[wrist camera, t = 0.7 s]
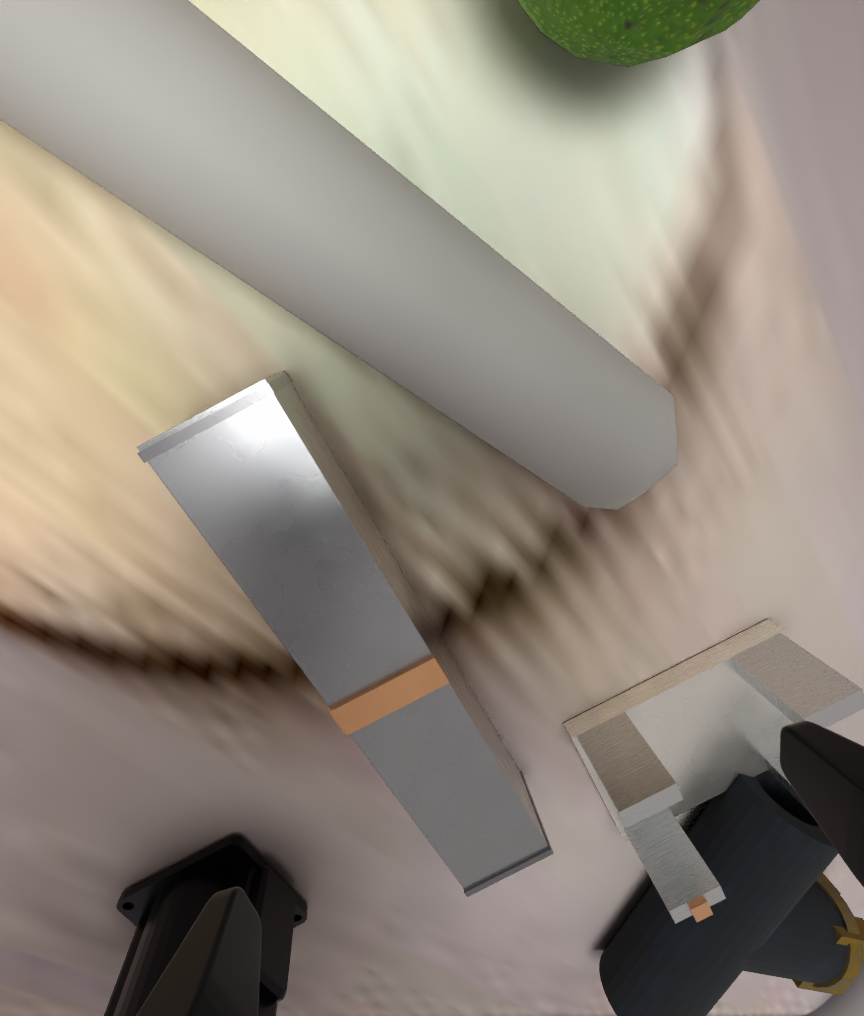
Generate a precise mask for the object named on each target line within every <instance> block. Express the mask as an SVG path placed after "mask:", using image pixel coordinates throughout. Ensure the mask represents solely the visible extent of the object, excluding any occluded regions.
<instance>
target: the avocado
mask: <svg viewBox="0 0 864 1016" xmlns="http://www.w3.org/2000/svg"><path fill="white" fill-rule="evenodd" d="M518 1H519V3H520V5H521V6H522V8H523V9H524V10H525V12H526V13H527V14H528V16H529V17H530V18H531V20H532V21H533V22H534V24H535V25H536V26H537V28H538V29H539V30H540V32H541V33H543V34H544V35H546V36H547V37H549V38H550V39H551V40H553V41H554V42H556V43H557V44H558V45H560V46H561V47H563V48H564V49H566V50H567V51H568V52H570V53H571V54H573V55H574V56H576V57H579V58H582V59H587V60H593V61H598V62H604V63H610V64H615V65H621V66H627V67H629V66H633V65H637V64H641V63H644V62H648V61H652V60H656V59H660V58H663V57H667V56H669V55H672V54H674V53H676V52H678V51H680V50H683V49H685V48H687V47H689V46H692V45H694V44H696V43H698V42H700V41H703V40H705V39H707V38H709V37H712V36H714V35H716V34H718V33H720V32H723V31H725V30H726V29H728V28H729V27H730V26H732V25H733V24H734V23H736V22H737V21H738V20H740V19H741V18H742V17H743V16H744V15H745V14H746V13H747V12H748V11H750V10H751V9H752V8H753V7H754V6H755V5H756V4H757V3H758V2H759V1H760V0H518Z"/></svg>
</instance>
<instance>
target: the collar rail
mask: <svg viewBox="0 0 864 1016" xmlns="http://www.w3.org/2000/svg"><path fill="white" fill-rule="evenodd" d="M862 709H864V695H863V690H862V689H861V688H860V687H858V686H857V685H856V684H854V683H853V682H851V681H850V680H848V679H847V678H845V677H844V676H842V675H841V674H840V673H838V672H837V671H835V670H834V669H832V668H831V667H829V666H828V665H826V664H825V663H824V662H822V661H821V660H819V659H818V658H816V657H815V656H813V655H812V654H811V653H809V652H808V651H806V650H805V649H803V648H802V647H800V646H799V645H797V644H796V643H795V642H793V641H792V640H790V639H789V638H787V636H786V632H785V630H784V629H783V628H781V627H780V626H778V625H777V624H775V623H774V622H772V621H771V620H769V619H766V620H765V621H763V622H761V623H759V624H757V625H755V626H753V627H751V628H749V629H747V630H745V631H743V632H741V633H739V634H737V635H735V636H733V637H731V638H729V639H727V640H725V641H723V642H721V643H719V644H718V645H716V646H714V647H712V648H710V649H708V650H706V651H704V652H702V653H700V654H698V655H696V656H694V657H692V658H690V659H688V660H686V661H684V662H682V663H680V664H678V665H676V666H674V667H672V668H671V669H669V670H667V671H665V672H663V673H661V674H659V675H657V676H655V677H653V678H651V679H649V680H647V681H645V682H643V683H641V684H639V685H637V686H635V687H633V688H631V689H629V690H627V691H626V692H624V693H622V694H620V695H618V696H616V697H614V698H612V699H610V700H608V701H606V702H604V703H602V704H600V705H598V706H596V707H594V708H592V709H590V710H588V711H586V712H584V713H582V714H580V715H579V716H577V717H575V718H573V719H571V720H569V721H567V722H565V723H564V725H565V727H566V729H567V731H568V733H569V735H570V737H571V739H572V741H573V743H574V745H575V747H576V749H577V750H578V752H579V754H580V756H581V758H582V760H583V762H584V764H585V766H586V768H587V770H588V772H589V774H590V776H591V778H592V779H593V781H594V783H595V785H596V787H597V789H598V791H599V793H600V795H601V797H602V799H603V801H604V803H605V805H606V807H607V808H608V810H609V812H610V814H611V816H612V818H613V820H614V822H615V824H616V826H617V828H618V830H619V831H620V833H621V835H622V837H623V839H624V841H625V842H626V841H628V840H630V842H631V844H632V845H633V847H634V849H635V851H636V853H637V854H638V856H639V858H640V860H641V862H642V864H643V865H644V867H645V869H646V871H647V873H648V875H649V876H650V878H651V880H652V882H653V884H654V886H655V887H656V889H657V891H658V893H659V895H660V896H661V898H662V900H663V902H664V904H665V906H666V907H667V909H668V911H669V913H670V915H671V917H672V918H673V920H674V922H675V924H676V923H678V922H680V921H682V920H684V919H686V918H688V917H690V916H692V915H693V917H694V919H695V920H696V922H699V921H701V920H703V919H705V918H707V917H709V916H711V915H713V913H712V911H711V908H710V906H712V905H714V904H716V903H718V902H720V901H722V900H724V899H726V898H725V895H724V893H723V891H722V888H721V886H720V884H719V883H718V881H717V880H716V878H715V877H714V875H713V874H712V872H711V871H710V869H709V868H708V866H707V865H706V863H705V862H704V860H703V859H702V857H701V856H700V854H699V853H698V851H697V850H696V848H695V847H694V845H693V844H692V842H691V841H690V839H689V838H688V836H687V835H686V833H685V832H684V830H683V829H682V827H681V826H680V825H679V823H678V822H677V820H676V819H675V816H677V815H679V814H681V813H683V812H685V811H687V810H689V809H691V808H693V807H695V806H697V805H699V804H701V803H703V802H705V801H707V800H709V799H711V798H713V797H715V796H717V795H719V794H721V793H723V792H725V791H727V790H728V789H729V788H730V786H731V785H732V784H733V782H734V781H735V779H736V778H737V777H738V775H739V774H744V775H747V776H751V777H755V776H757V775H759V774H761V773H763V772H765V771H767V770H769V771H770V773H771V774H772V775H773V776H774V777H775V778H776V779H777V780H778V781H779V782H780V783H781V784H782V785H783V786H784V787H785V788H786V789H787V790H788V791H789V792H790V793H791V794H792V795H793V797H794V798H795V799H796V800H797V801H798V802H799V803H800V804H801V805H802V806H803V807H804V808H805V809H806V810H807V811H808V812H809V813H810V811H809V810H808V808H807V807H806V806H805V804H804V803H803V801H802V800H801V798H800V797H799V796H798V794H797V793H796V791H795V790H794V788H793V787H792V785H791V784H790V783H789V781H788V780H787V778H786V777H785V775H784V773H783V771H782V768H781V765H780V732H781V729H782V728H783V727H784V726H786V725H789V724H793V723H796V722H800V721H810V722H813V723H816V724H818V725H820V726H822V727H824V728H826V727H828V726H830V725H832V724H834V723H836V722H838V721H840V720H842V719H844V718H846V717H848V716H850V715H852V714H854V713H856V712H858V711H860V710H862ZM810 814H811V813H810ZM811 815H812V814H811Z"/></svg>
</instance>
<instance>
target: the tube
mask: <svg viewBox="0 0 864 1016" xmlns="http://www.w3.org/2000/svg"><path fill="white" fill-rule="evenodd" d="M0 120H2V121H3V122H5V123H6V124H8V125H9V126H11V127H12V128H14V129H15V130H17V131H18V132H20V133H21V134H23V135H24V136H26V137H27V138H29V139H30V140H32V141H33V142H35V143H36V144H38V145H39V146H41V147H42V148H44V149H45V150H47V151H48V152H50V153H51V154H53V155H54V156H56V157H57V158H59V159H60V160H62V161H63V162H65V163H66V164H68V165H69V166H71V167H72V168H74V169H75V170H77V171H78V172H80V173H81V174H83V175H84V176H86V177H87V178H89V179H90V180H92V181H93V182H95V183H96V184H98V185H99V186H101V187H102V188H104V189H105V190H107V191H108V192H110V193H112V194H113V195H115V196H116V197H118V198H119V199H121V200H122V201H124V202H125V203H127V204H128V205H130V206H131V207H133V208H134V209H136V210H137V211H139V212H140V213H142V214H143V215H145V216H146V217H148V218H149V219H151V220H152V221H154V222H155V223H157V224H158V225H160V226H161V227H163V228H164V229H166V230H167V231H169V232H170V233H172V234H173V235H175V236H176V237H178V238H179V239H181V240H182V241H184V242H185V243H187V244H188V245H190V246H191V247H193V248H194V249H196V250H197V251H199V252H200V253H202V254H203V255H205V256H206V257H208V258H209V259H211V260H212V261H214V262H215V263H217V264H218V265H220V266H221V267H223V268H224V269H226V270H227V271H229V272H230V273H232V274H233V275H235V276H236V277H238V278H240V279H241V280H243V281H244V282H246V283H247V284H249V285H250V286H252V287H253V288H255V289H256V290H258V291H259V292H261V293H262V294H264V295H265V296H267V297H268V298H270V299H271V300H273V301H274V302H276V303H277V304H279V305H280V306H282V307H283V308H285V309H286V310H288V311H289V312H291V313H292V314H294V315H295V316H297V317H298V318H300V319H301V320H303V321H304V322H306V323H307V324H309V325H310V326H312V327H313V328H315V329H316V330H318V331H319V332H321V333H322V334H324V335H325V336H327V337H328V338H330V339H331V340H333V341H334V342H336V343H337V344H339V345H340V346H342V347H343V348H345V349H346V350H348V351H349V352H351V353H352V354H354V355H355V356H357V357H358V358H360V359H361V360H363V361H364V362H366V363H368V364H369V365H371V366H372V367H374V368H375V369H377V370H378V371H380V372H381V373H383V374H384V375H386V376H387V377H389V378H390V379H392V380H393V381H395V382H396V383H398V384H399V385H401V386H402V387H404V388H405V389H407V390H408V391H410V392H411V393H413V394H414V395H416V396H417V397H419V398H420V399H422V400H423V401H425V402H426V403H428V404H429V405H431V406H432V407H434V408H435V409H437V410H438V411H440V412H441V413H443V414H444V415H446V416H447V417H449V418H450V419H452V420H453V421H455V422H456V423H458V424H459V425H461V426H462V427H464V428H465V429H467V430H468V431H470V432H471V433H473V434H474V435H476V436H477V437H479V438H480V439H482V440H483V441H485V442H486V443H488V444H489V445H491V446H492V447H494V448H496V449H497V450H499V451H500V452H502V453H503V454H505V455H506V456H508V457H509V458H511V459H512V460H514V461H515V462H517V463H518V464H520V465H521V466H523V467H524V468H526V469H527V470H529V471H530V472H532V473H533V474H535V475H536V476H538V477H539V478H541V479H542V480H544V481H545V482H547V483H548V484H550V485H551V486H553V487H554V488H556V489H557V490H559V491H560V492H562V493H563V494H565V495H566V496H568V497H569V498H571V499H572V500H574V501H575V502H577V503H578V504H580V505H581V506H583V507H591V508H603V509H614V510H618V509H619V508H621V507H623V506H624V505H626V504H628V503H629V502H631V501H633V500H634V499H636V498H638V497H639V496H641V495H643V494H644V493H645V492H646V491H647V490H649V489H650V488H651V487H652V486H653V485H654V484H655V483H657V482H658V481H659V480H660V479H661V478H662V477H664V476H665V475H666V474H667V473H668V472H669V471H670V470H672V469H673V468H674V467H675V466H676V465H677V464H678V463H677V430H676V417H675V406H674V396H673V395H672V394H671V393H669V392H668V391H667V390H666V389H664V388H663V387H662V386H661V385H660V384H658V383H657V382H656V381H655V380H653V379H652V378H651V377H650V376H649V375H647V374H646V373H645V372H644V371H642V370H641V369H640V368H639V367H637V366H636V365H635V364H634V363H633V362H631V361H630V360H629V359H628V358H626V357H625V356H624V355H623V354H622V353H620V352H619V351H618V350H617V349H615V348H614V347H613V346H612V345H610V344H609V343H608V342H607V341H606V340H604V339H603V338H602V337H601V336H599V335H598V334H597V333H596V332H595V331H593V330H592V329H591V328H590V327H588V326H587V325H586V324H585V323H583V322H582V321H581V320H580V319H579V318H577V317H576V316H575V315H574V314H572V313H571V312H570V311H569V310H568V309H566V308H565V307H564V306H563V305H561V304H560V303H559V302H558V301H556V300H555V299H554V298H553V297H552V296H550V295H549V294H548V293H547V292H545V291H544V290H543V289H542V288H541V287H539V286H538V285H537V284H536V283H534V282H533V281H532V280H531V279H529V278H528V277H527V276H526V275H525V274H523V273H522V272H521V271H520V270H518V269H517V268H516V267H515V266H514V265H512V264H511V263H510V262H509V261H507V260H506V259H505V258H504V257H502V256H501V255H500V254H499V253H498V252H496V251H495V250H494V249H493V248H491V247H490V246H489V245H488V244H487V243H485V242H484V241H483V240H482V239H480V238H479V237H478V236H477V235H475V234H474V233H473V232H472V231H471V230H469V229H468V228H467V227H466V226H464V225H463V224H462V223H461V222H460V221H458V220H457V219H456V218H455V217H453V216H452V215H451V214H450V213H448V212H447V211H446V210H445V209H444V208H442V207H441V206H440V205H439V204H437V203H436V202H435V201H434V200H433V199H431V198H430V197H429V196H428V195H426V194H425V193H424V192H423V191H421V190H420V189H419V188H418V187H417V186H415V185H414V184H413V183H412V182H410V181H409V180H408V179H407V178H406V177H404V176H403V175H402V174H401V173H399V172H398V171H397V170H396V169H394V168H393V167H392V166H391V165H390V164H388V163H387V162H386V161H385V160H383V159H382V158H381V157H380V156H379V155H377V154H376V153H375V152H374V151H372V150H371V149H370V148H369V147H367V146H366V145H365V144H364V143H363V142H361V141H360V140H359V139H358V138H356V137H355V136H354V135H353V134H352V133H350V132H349V131H348V130H347V129H345V128H344V127H343V126H342V125H340V124H339V123H338V122H337V121H336V120H334V119H333V118H332V117H331V116H329V115H328V114H327V113H326V112H325V111H323V110H322V109H321V108H320V107H318V106H317V105H316V104H315V103H313V102H312V101H311V100H310V99H309V98H307V97H306V96H305V95H304V94H302V93H301V92H300V91H299V90H298V89H296V88H295V87H294V86H293V85H291V84H290V83H289V82H288V81H286V80H285V79H284V78H283V77H282V76H280V75H279V74H278V73H277V72H275V71H274V70H273V69H272V68H270V67H269V66H268V65H267V64H266V63H264V62H263V61H262V60H261V59H259V58H258V57H257V56H256V55H255V54H253V53H252V52H251V51H250V50H248V49H247V48H246V47H245V46H243V45H242V44H241V43H240V42H239V41H237V40H236V39H235V38H234V37H232V36H231V35H230V34H229V33H228V32H226V31H225V30H224V29H223V28H221V27H220V26H219V25H218V24H216V23H215V22H214V21H213V20H212V19H210V18H209V17H208V16H207V15H205V14H204V13H203V12H202V11H201V10H199V9H198V8H197V7H196V6H194V5H193V4H192V3H191V2H189V1H188V0H0Z"/></svg>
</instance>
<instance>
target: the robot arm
mask: <svg viewBox="0 0 864 1016" xmlns="http://www.w3.org/2000/svg"><path fill="white" fill-rule="evenodd" d="M780 765H781V768H782V771H783V773H784V775H785V777H786V778H787V780H788V781H789V783H790V784H791V785H792V787H793V788H794V790H795V791H796V793H797V794H798V796H799V797H800V798H801V800H802V801H803V803H804V804H805V806H806V807H807V808H808V810H809V811H810V813H811V814H812V816H813V817H814V819H815V820H816V821H817V823H818V824H819V826H820V827H821V829H822V830H823V831H824V833H825V834H826V836H827V837H828V839H829V840H830V842H831V843H832V844H833V846H834V847H835V849H836V850H837V852H838V853H839V854H840V856H841V857H842V859H843V860H844V862H845V863H846V864H847V866H848V867H849V868H850V870H851V871H852V873H853V874H854V875H855V877H856V878H857V879H858V881H859V882H860V883H861V884H862V886H863V887H864V746H862V745H860V744H858V743H856V742H854V741H851V740H849V739H847V738H845V737H843V736H841V735H839V734H837V733H835V732H832V731H830V730H828V729H826V728H824V727H822V726H820V725H818V724H816V723H813V722H810V721H800V722H796V723H793V724H789V725H786V726H784V727H783V728H782V729H781V732H780ZM307 908H308V907H307V906H306V904H305V903H304V902H303V901H302V900H301V899H300V898H299V897H298V896H297V895H296V894H295V893H294V892H293V891H292V890H291V889H290V888H289V886H288V885H287V884H286V883H285V882H284V881H283V880H282V879H281V878H280V877H279V876H278V875H277V874H276V873H275V872H274V871H273V870H272V869H271V868H270V866H269V865H268V864H267V863H266V862H265V861H264V860H263V859H262V858H261V857H260V856H259V855H258V854H257V853H256V852H255V851H254V850H253V849H252V848H251V846H250V845H249V844H248V843H247V842H246V841H245V840H244V839H242V838H241V837H237V836H236V837H230V838H227V839H225V840H224V841H222V842H220V843H218V844H216V845H214V846H212V847H210V848H208V849H206V850H204V851H202V852H200V853H198V854H196V855H194V856H192V857H190V858H188V859H187V860H185V861H183V862H181V863H179V864H177V865H175V866H173V867H171V868H169V869H167V870H165V871H163V872H161V873H159V874H157V875H155V876H153V877H151V878H150V879H148V880H146V881H144V882H142V883H140V884H138V885H136V886H134V887H132V888H130V889H128V890H126V891H124V892H123V893H122V894H121V896H120V898H119V901H118V903H117V909H118V911H119V912H121V913H122V914H123V915H124V916H125V917H127V918H128V919H129V920H130V921H131V922H132V923H134V924H135V925H136V926H137V928H136V931H135V934H134V936H133V939H132V942H131V945H130V947H129V950H128V953H127V955H126V958H125V961H124V963H123V966H122V969H121V971H120V974H119V977H118V979H117V982H116V985H115V987H114V990H113V993H112V996H111V998H110V1001H109V1004H108V1006H107V1009H106V1012H105V1014H104V1016H276V1011H277V1003H278V1002H279V1001H281V1000H283V999H284V997H285V993H286V990H287V982H288V973H289V963H290V954H291V945H292V935H293V928H294V927H296V926H298V925H300V924H302V923H303V922H305V920H306V919H307Z"/></svg>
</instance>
